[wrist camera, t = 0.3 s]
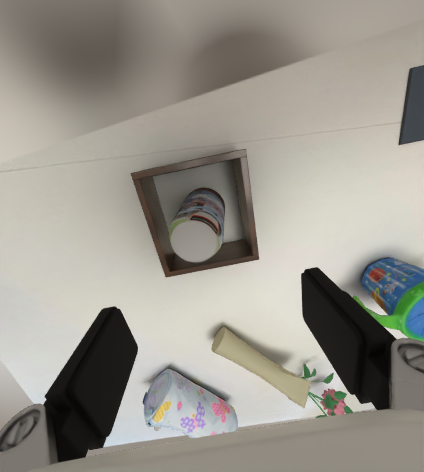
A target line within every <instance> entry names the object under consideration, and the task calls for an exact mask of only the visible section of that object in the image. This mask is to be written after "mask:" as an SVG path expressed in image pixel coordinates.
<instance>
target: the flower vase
mask: <svg viewBox="0 0 424 472" xmlns="http://www.w3.org/2000/svg"><path fill="white" fill-rule="evenodd" d="M212 351H213V352H214V353H216V354H219V355H221V356H223V357H225V358H227V359H229V360H231V361H233V362H235V363H237V364H238V365H240V366H242V367H244V368H245V369H247V370H249V371H251V372H252V373H254V374H256V375H258V376H260V377H261V378H262V379H264V380H265V381H267V382H268V383H269V384H271V385H272V386H274V387H275V388H276V389H278V390H279V391H281V392H282V393H283V394H285V395H286V396H287V397H288V398H289V399H290V400H292V401H293V402H295V403H297V404H298V405H300V406H301V407H303V408H305V404H306V400H307V396H308V395H309V394H311V395H312V396H313V397H314V398H315V397H316V398H318V399H320V400H322V401H320V402H321V404H322V405H323V407H324V410H325V409H328V412H327V414H328V415H329V416H334V415H341V414H344V412H345V413H347V414H348V413H353V412H352V410H351V409H350V408H349V407H348V406H346V404H345V402H344V401H343V400H344V398H345V397H346V395H347V394H346V393H344V392H341V391H337V392H335V390H334V389H333V390H330V389H328V392H327V391H326V390H324V394H322V396H323V398H324V399H322V398H320V397H318V396H316V395H314V394H312V393H311V392H309V388H310V384H311V382H310V381H308V380H307V379H306V378H309V377H312V376H315V375H316V370H315V369H314V370H313V372H312V374H311V376H310V371H309V369H308V367H307V366H306V365H304V377H299V376H297V375H295V374H293V373H291V372H290V371H288V370H286V369H284V368H282V367H281V366H279V365H277V364H275V363H274V362H272V361H270V360H269V359H267V358H265V357H264V356H263V355H261V354H260V353H258V352H257V351H256V350H254V349H253V348H252V347H250V346H249V345H248V344H246V343H245V342H244V341H242V340H241V339H240V338H238V337H237V336H236V335H234V334H233V333H232V332H230V331H229V330H228V329H226V328H225V327H222V328H221V329H220V330H219V332H218V333H217V335H216V337H215V339H214V341H213V344H212ZM333 374H334V373H332V374H331V375H329V376H328V377H327V378H326V379H324V380H323V381H313V382H325V383H327V384H328V383H330V382H331V380H332V379H333ZM305 379H306V380H305ZM309 396H310V395H309ZM310 397H311V396H310ZM311 398H312V397H311ZM316 398H315V399H316ZM312 400H313V401H314V402H315V403H316V404H317V402H316V401H315V400H314V399H313V398H312ZM316 400H317V399H316ZM317 401H318V400H317ZM318 402H319V401H318ZM317 405H318V404H317ZM318 407H319V408H320V409H321V410H322V408H321V407H320V406H319V405H318ZM322 412H323V413H324V414H325V412H324V411H323V410H322ZM320 417H327V415H326V414H325V415H320V416H317V417H316V418H320Z"/></svg>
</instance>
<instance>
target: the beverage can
mask: <svg viewBox="0 0 424 472" xmlns="http://www.w3.org/2000/svg"><path fill="white" fill-rule="evenodd" d="M224 216H225V204H224V201H223V199H222V197H221V196H220V195H219V194H218V193H217V192H216V191H214V190H212V189H208V188H200V189H196V190H194V191H193V192H192V193H190V195H189V196H188V197H187V199H186V200H185V202H184V204H183V205H182V207H181V208H180V210H179V212H178V213H177V215H176V216H175V218H174V219H173V221H172V223H171V225H170V228H169V239H170V242H171V246H172V248H173V250H174V252H175V253H176V254H177V255H178V256H179V257H181V258H182V259H184V260H186V261H190V262H202V261H205V260H207V259H209V258H210V257H212V256H213V255H214V254H215V253H217V252H218V250H219V249H220V247H221V245H222V242H223V235H224Z"/></svg>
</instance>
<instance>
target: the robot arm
mask: <svg viewBox="0 0 424 472" xmlns="http://www.w3.org/2000/svg"><path fill="white" fill-rule="evenodd" d="M301 283H302V312H303V318H304V321H305V322H306V324H307V326H308V327H309V329H310V331H311V332H312V334H313V335H314V337H315V339H316V340H317V342H318V343H319V345H320V347H321V348H322V350H323V352H324V353H325V355H326V356H327V358H328V360H329V361H330V363H331V364H332V366H333V368H334V369H335V371H336V372H337V374H338V376H339V377H340V379H341V381H342V382H343V384H344V385H345V387H346V389H347V390H348V392H349V393H350V394H352V395H354V394H355V396H356V397H357V399H358V400H359V402H360V403H361V404H364V403H369V402H372V404H373V405H374V407H375V408H376V409H377V410H375V411H362V412H355V413H348V414H341V415H334V416H327V417H320V418H314V419H308V420H301V421H295V422H289V423H282V424H276V425H270V426H264V427H258V428H252V429H246V430H240V431H234V432H228V433H222V434H216V435H210V436H204V437H198V438H192V439H186V440H181V441H175V442H169V443H163V444H158V445H152V446H146V447H140V448H135V449H129V450H123V451H118V452H112V453H106V454H100V455H95V456H90V457H86V454H87V452H88V449H89V450H93V449H99V448H103V446H104V443H105V440H106V437H108V436H109V435H110V433H111V431H112V428H113V425H114V422H115V419H116V416H117V413H118V410H119V407H120V404H121V401H122V398H123V395H124V392H125V389H126V386H127V383H128V380H129V377H130V374H131V371H132V368H133V364H134V361H135V358H136V355H137V352H138V346H137V343H136V341H135V339H134V337H133V335H132V333H131V331H130V329H129V327H128V325H127V323H126V320H125V318H124V316H123V314H122V312H121V310H120V309H117V308H116V307H109V308H104V309H102V310H101V311H100V313H99V314H98V316H97V318H96V319H95V321H94V322H93V324H92V325H91V327H90V328H89V330H88V331H87V333H86V334H85V336H84V337H83V339H82V340H81V342H80V343H79V345H78V346H77V348H76V349H75V351H74V352H73V354H72V356H71V357H70V359H69V360H68V362H67V363H66V365H65V366H64V368H63V369H62V371H61V372H60V374H59V375H58V377H57V378H56V380H55V381H54V383H53V384H52V386H51V387H50V389H49V390H48V392H47V394H46V395H45V398H46V399H47V400H46V401H45V403H44V404H43V405H42V404H34V405H31V406H28V407H27V408H25V409H23V410H22V411H20V412H19V413H18V414H17V415H15V416H14V417H13V418H12V419H11V420H10V421H9V422H8V423H7V424H6V425H5V426H4V427H3V428H2V429H1V431H0V472H424V342H423V341H420V340H416V339H411V338H401V339H396V338H395V337H394V336H393V335H392V334H391V333H390V332H388V331H387V330H386V329H385V328H384V327H383V326H382V325H381V324H380V323H379V322H378V321H377V320H376V319H375V318H374V317H373V316H371V315H370V314H369V313H368V312H367V311H366V310H365V309H364V308H363V307H362V306H361V305H360V304H359V303H358V302H357V301H356V300H354V299H353V298H352V297H351V296H350V295H349V294H348V293H347V292H345V291H342V290H341V289H340V288H339V287H338V286H337V285H336V284H335V283H334V282H333V281H332V280H330V279H329V278H328V277H327V276H326V275H325V274H324V273H323V272H322V271H321V270H320V269H319V268H317V267H316V268H310V269H306V270H305V271H304V273H302V274H301Z"/></svg>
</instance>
